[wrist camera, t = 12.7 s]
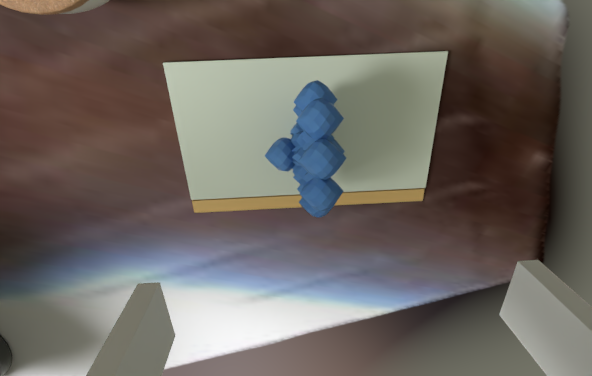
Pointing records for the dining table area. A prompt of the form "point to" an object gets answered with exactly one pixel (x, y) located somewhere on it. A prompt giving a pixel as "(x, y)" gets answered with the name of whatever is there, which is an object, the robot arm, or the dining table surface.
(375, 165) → the mat
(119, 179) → the dining table surface
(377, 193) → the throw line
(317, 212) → the grapes
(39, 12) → the lidded jar
